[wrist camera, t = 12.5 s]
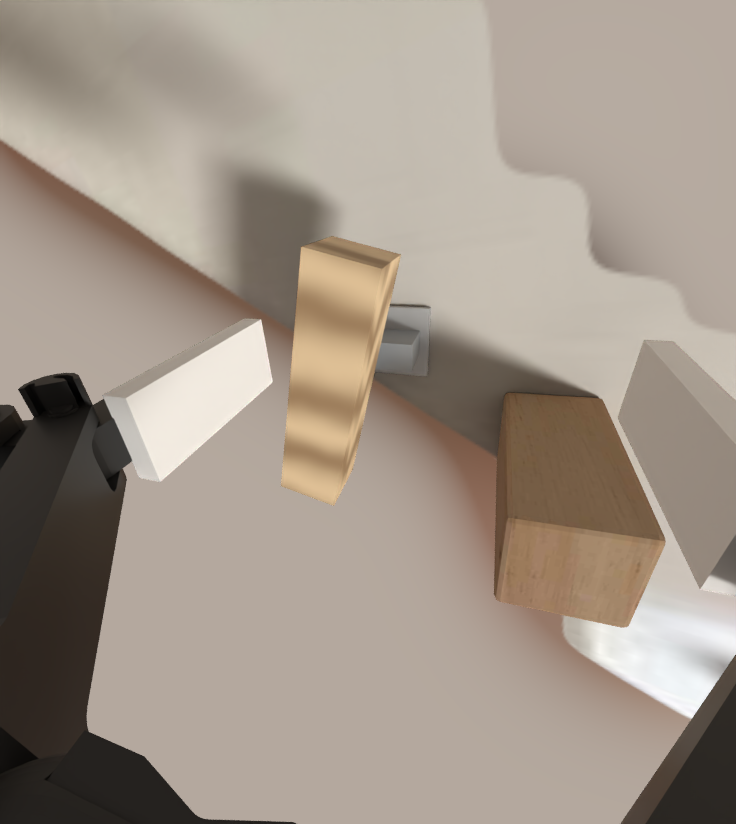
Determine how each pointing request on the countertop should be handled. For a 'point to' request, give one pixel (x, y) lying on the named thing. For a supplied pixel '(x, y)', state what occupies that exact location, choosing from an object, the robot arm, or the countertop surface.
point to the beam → (333, 360)
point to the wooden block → (570, 512)
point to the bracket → (405, 341)
